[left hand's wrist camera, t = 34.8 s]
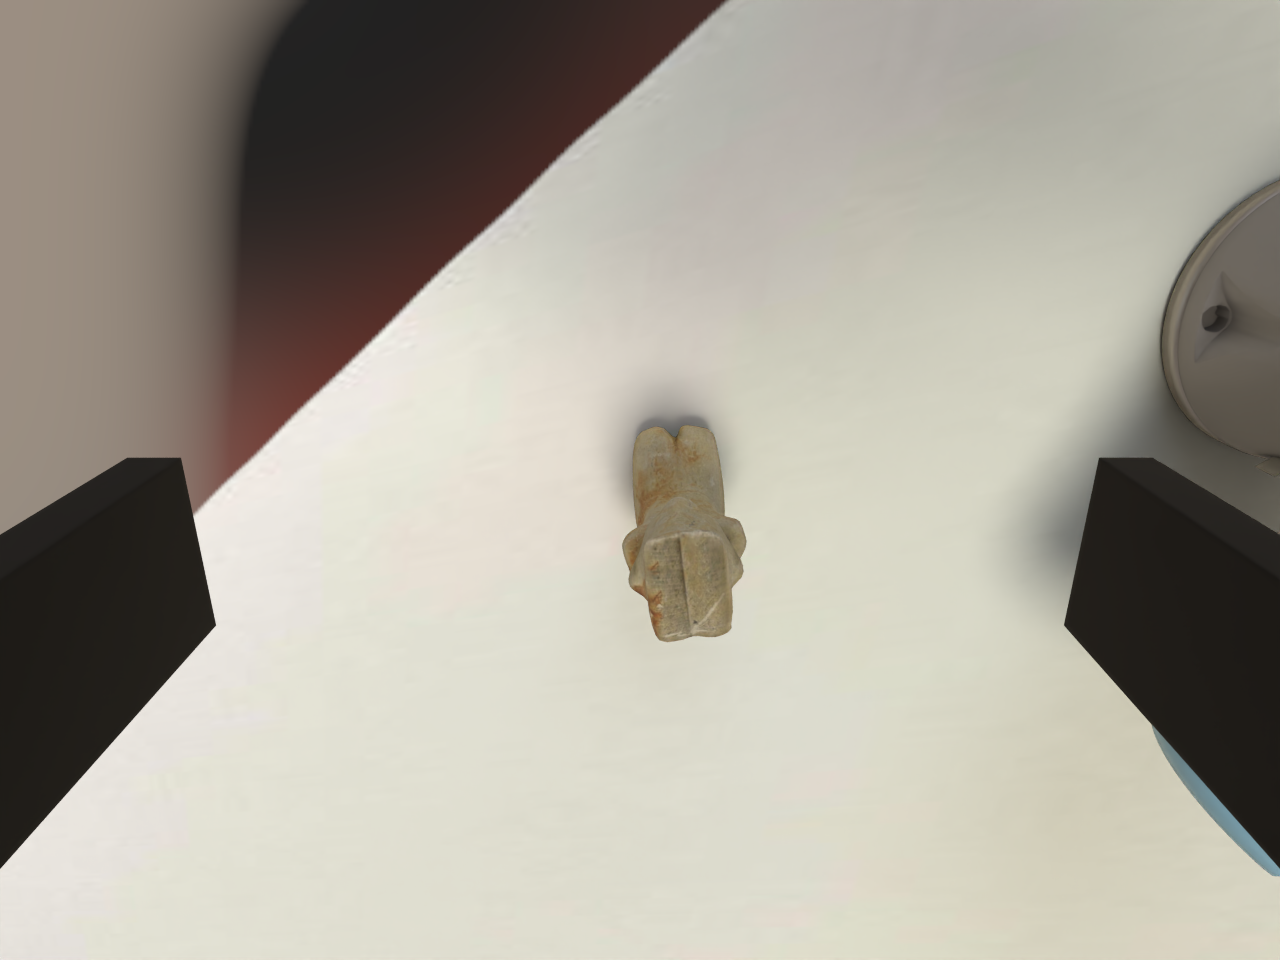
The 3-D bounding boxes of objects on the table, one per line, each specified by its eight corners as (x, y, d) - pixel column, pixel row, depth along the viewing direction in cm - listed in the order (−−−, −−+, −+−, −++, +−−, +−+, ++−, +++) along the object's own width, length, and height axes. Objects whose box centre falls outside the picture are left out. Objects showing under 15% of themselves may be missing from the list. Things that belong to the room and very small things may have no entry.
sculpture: (728, 416, 47) (765, 530, 33) (727, 534, 50) (761, 685, 36) (623, 419, 47) (615, 534, 33) (628, 537, 50) (623, 689, 36)
